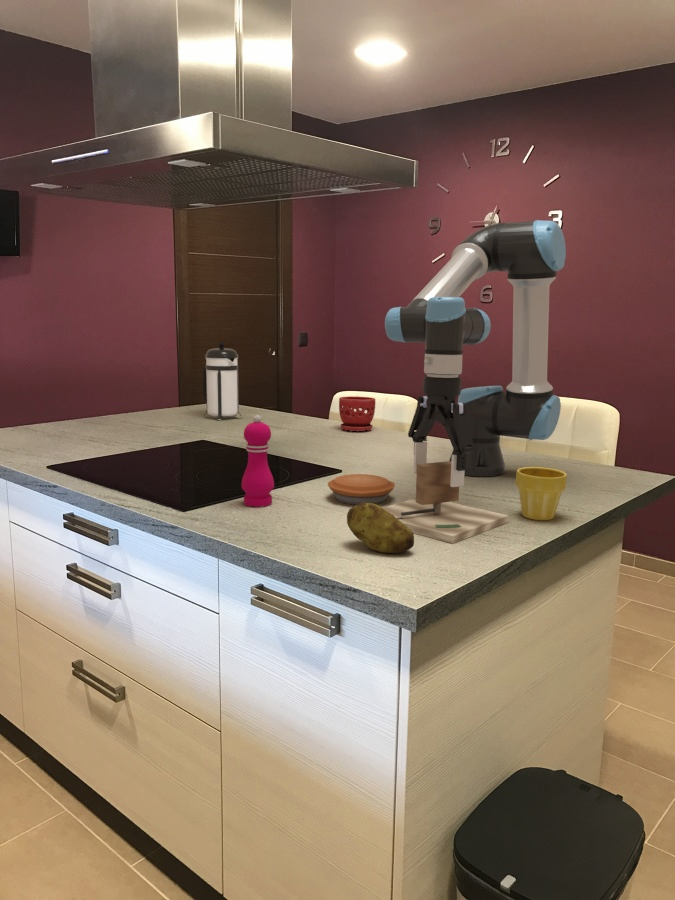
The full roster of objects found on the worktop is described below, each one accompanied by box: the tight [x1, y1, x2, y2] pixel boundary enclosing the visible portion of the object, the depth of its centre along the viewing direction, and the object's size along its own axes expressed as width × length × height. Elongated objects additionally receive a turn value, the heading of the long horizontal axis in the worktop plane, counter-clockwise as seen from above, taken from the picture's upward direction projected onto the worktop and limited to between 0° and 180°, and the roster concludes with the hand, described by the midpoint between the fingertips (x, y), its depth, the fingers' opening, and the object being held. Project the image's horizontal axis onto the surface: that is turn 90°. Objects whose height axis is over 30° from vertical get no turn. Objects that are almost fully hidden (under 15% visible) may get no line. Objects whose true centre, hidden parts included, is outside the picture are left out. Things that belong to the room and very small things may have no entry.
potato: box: [346, 502, 415, 554], centre depth 132 cm, size 8×13×8 cm, turn 38°
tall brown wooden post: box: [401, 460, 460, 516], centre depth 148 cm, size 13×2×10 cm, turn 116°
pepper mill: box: [241, 414, 275, 508], centre depth 160 cm, size 7×7×20 cm
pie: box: [327, 473, 396, 506], centre depth 167 cm, size 15×16×5 cm
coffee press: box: [202, 341, 243, 420], centre depth 284 cm, size 17×16×30 cm
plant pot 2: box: [515, 466, 568, 521], centre depth 154 cm, size 10×10×10 cm
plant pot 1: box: [338, 396, 376, 432], centre depth 262 cm, size 13×13×12 cm
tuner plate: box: [382, 497, 510, 545], centre depth 150 cm, size 20×22×2 cm
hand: (437, 479), depth 149 cm, fingers open, 13 cm apart
